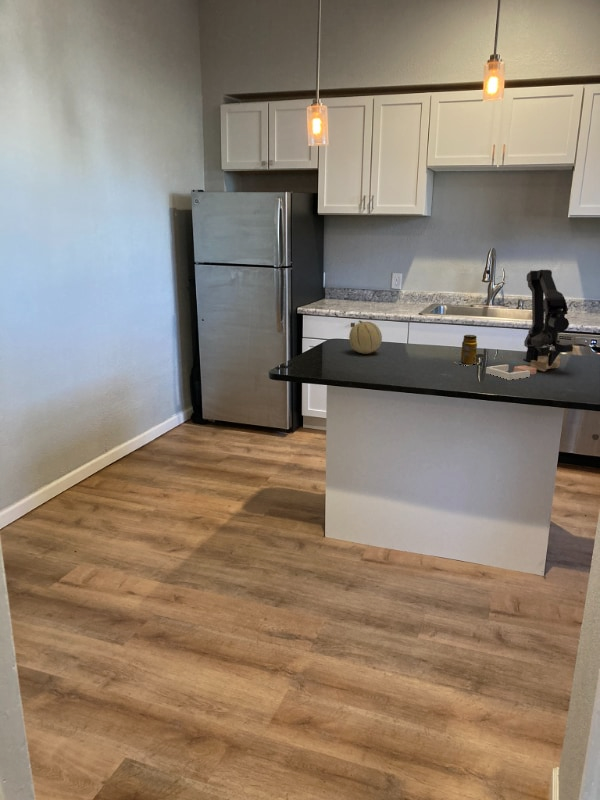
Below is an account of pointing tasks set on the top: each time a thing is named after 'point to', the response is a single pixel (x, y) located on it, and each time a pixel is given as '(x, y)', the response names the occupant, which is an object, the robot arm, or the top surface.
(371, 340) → the cantaloupe
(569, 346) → the robot arm
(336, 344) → the top surface
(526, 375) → the corral
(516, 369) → the tile
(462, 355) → the condiment
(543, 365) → the scraper
